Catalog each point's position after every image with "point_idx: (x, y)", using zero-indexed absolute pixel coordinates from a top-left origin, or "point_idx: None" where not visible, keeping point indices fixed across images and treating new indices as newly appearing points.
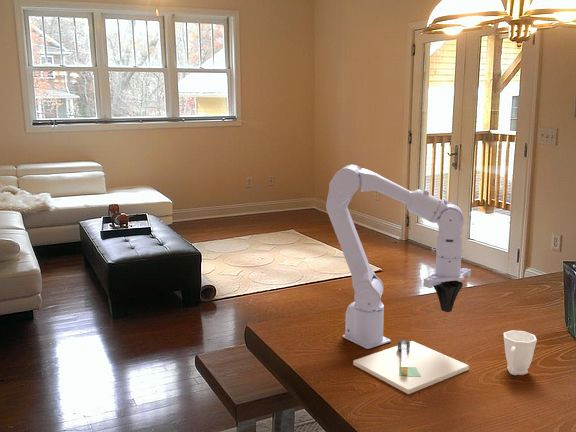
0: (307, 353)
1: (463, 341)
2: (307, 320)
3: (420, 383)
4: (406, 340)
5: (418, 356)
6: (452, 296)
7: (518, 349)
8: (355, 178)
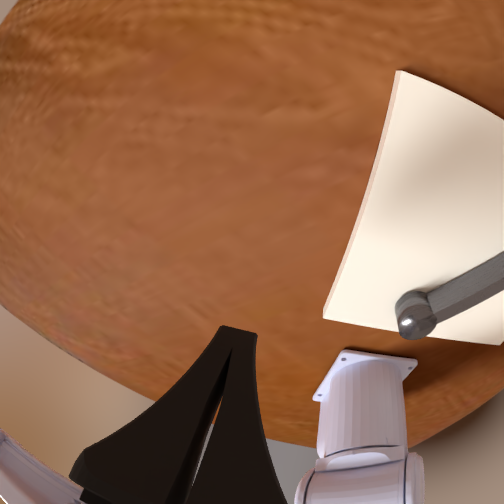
0: (465, 396)
1: (172, 203)
2: None
3: None
4: (402, 326)
5: (432, 254)
6: (201, 421)
7: None
8: None
